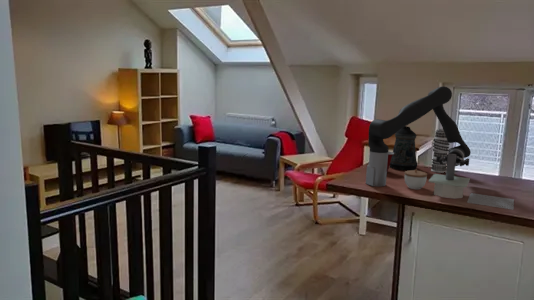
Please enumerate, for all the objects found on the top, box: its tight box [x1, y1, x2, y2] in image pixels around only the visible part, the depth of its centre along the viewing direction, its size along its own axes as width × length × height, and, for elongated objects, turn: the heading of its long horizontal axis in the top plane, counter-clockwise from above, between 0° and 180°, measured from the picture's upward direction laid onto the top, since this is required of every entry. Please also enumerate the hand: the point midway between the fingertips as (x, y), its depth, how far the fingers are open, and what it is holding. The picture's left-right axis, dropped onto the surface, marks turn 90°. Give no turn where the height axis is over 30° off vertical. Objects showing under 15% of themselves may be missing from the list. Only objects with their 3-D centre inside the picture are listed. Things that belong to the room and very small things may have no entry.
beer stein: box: [389, 125, 419, 171], centre depth 258 cm, size 16×19×25 cm
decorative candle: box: [430, 128, 451, 174], centre depth 250 cm, size 9×9×25 cm
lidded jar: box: [404, 168, 428, 190], centre depth 213 cm, size 11×11×9 cm
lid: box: [428, 153, 471, 188], centre depth 199 cm, size 16×16×13 cm
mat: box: [466, 192, 515, 211], centre depth 192 cm, size 18×18×1 cm
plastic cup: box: [387, 150, 394, 173], centre depth 247 cm, size 11×11×12 cm
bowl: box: [433, 183, 465, 199], centre depth 201 cm, size 12×12×7 cm
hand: (450, 163), depth 197 cm, fingers open, 8 cm apart
